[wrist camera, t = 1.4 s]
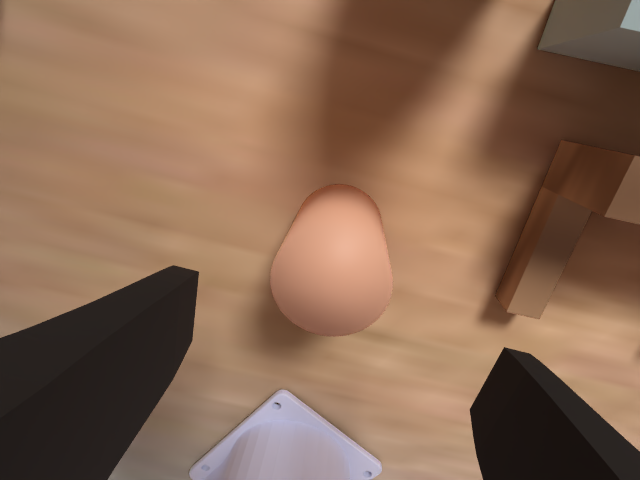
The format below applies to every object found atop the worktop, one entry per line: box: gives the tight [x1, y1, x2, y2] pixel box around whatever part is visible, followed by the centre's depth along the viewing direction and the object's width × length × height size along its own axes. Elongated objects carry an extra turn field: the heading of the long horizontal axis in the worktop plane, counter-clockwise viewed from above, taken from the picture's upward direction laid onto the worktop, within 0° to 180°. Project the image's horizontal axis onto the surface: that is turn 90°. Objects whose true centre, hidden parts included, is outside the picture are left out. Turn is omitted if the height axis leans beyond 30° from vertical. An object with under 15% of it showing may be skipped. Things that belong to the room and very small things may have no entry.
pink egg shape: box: [270, 184, 393, 336], centre depth 15 cm, size 4×4×6 cm
